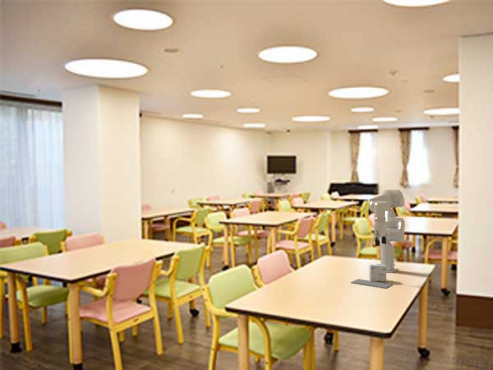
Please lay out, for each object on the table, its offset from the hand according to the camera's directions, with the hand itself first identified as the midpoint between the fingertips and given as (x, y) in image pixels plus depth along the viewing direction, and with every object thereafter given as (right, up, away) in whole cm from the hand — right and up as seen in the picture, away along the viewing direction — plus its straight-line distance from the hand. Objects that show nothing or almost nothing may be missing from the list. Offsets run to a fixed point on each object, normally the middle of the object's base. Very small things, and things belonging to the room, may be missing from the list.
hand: (380, 244), depth 288 cm
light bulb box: (-4, -24, -6) cm, 25 cm away
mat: (-10, -24, -13) cm, 29 cm away
